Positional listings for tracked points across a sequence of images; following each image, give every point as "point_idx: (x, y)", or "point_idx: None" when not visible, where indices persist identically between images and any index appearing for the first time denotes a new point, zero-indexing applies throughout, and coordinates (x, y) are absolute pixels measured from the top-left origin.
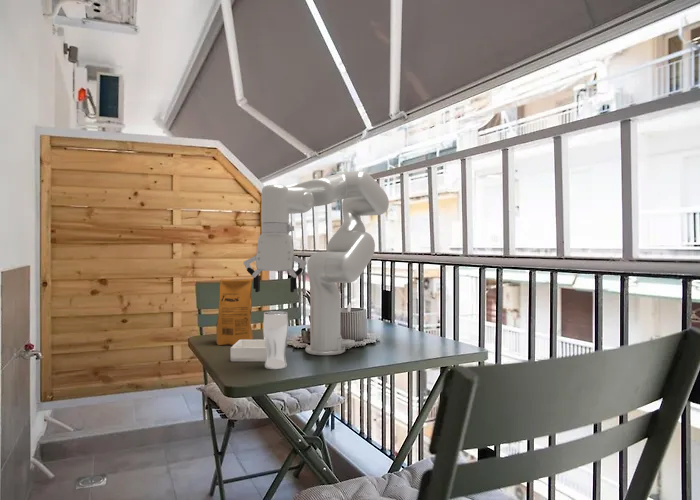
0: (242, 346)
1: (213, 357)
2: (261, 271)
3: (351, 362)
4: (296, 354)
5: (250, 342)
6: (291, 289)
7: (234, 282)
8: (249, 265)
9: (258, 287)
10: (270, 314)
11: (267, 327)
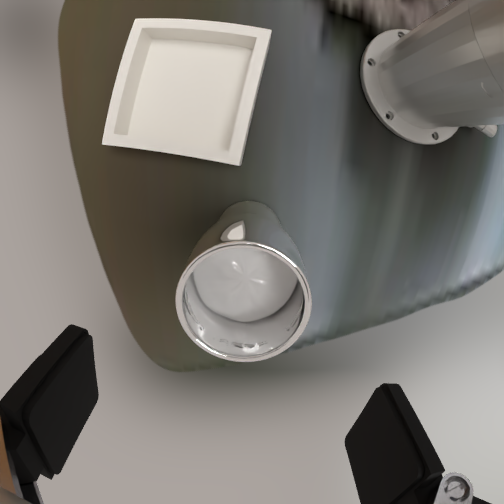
0: (150, 35)
1: (80, 92)
2: (21, 495)
3: (445, 234)
4: (328, 89)
5: (172, 30)
6: (352, 455)
7: None
8: None
9: (83, 404)
10: (212, 353)
11: (206, 316)
